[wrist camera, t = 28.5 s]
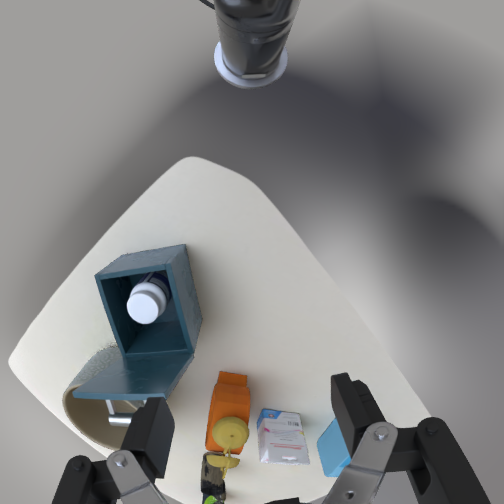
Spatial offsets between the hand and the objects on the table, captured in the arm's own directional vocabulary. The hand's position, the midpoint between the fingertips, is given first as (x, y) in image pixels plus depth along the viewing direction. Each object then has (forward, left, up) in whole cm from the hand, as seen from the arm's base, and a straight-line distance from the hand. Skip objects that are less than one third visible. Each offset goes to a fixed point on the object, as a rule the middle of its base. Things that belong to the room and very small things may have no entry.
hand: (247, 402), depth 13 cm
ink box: (+40, +1, -36) cm, 54 cm away
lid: (+10, -15, -18) cm, 26 cm away
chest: (+6, -15, -36) cm, 40 cm away
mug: (+54, -16, -36) cm, 67 cm away
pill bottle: (+5, -15, -36) cm, 39 cm away
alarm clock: (+30, -8, -36) cm, 48 cm away
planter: (+23, -27, -36) cm, 51 cm away
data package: (+48, +14, -36) cm, 62 cm away
